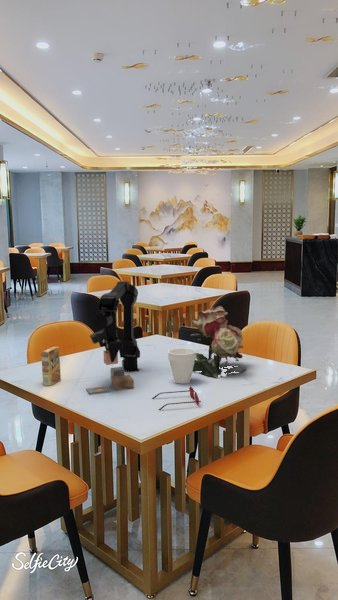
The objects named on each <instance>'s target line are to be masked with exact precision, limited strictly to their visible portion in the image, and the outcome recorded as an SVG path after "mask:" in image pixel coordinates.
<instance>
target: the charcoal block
mask: <svg viewBox="0 0 338 600" xmlns="http://www.w3.org/2000/svg"><path fill="white" fill-rule="evenodd" d="M125 372H126V371H125V370H124V369H123V368H122V366H116V367H110V377H111V376H122V375H125V374H126V373H125Z"/></svg>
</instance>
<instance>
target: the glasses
mask: <svg viewBox="0 0 338 600" xmlns="http://www.w3.org/2000/svg"><path fill="white" fill-rule="evenodd" d="M194 389H195V388H194V387H192V385H190V386H189V389H188V390H179V391H178V390H177V391H166V392H160V393H157V394H155V395H154V396H153V397H152V398H151V400H154V399H155V398H157V397H158V396H159V395H161V394H173V393H186V392H187V393H188V392H189V397H190V396H191V397H190V398H192V400H195V401H184V402H183V401H182V402H174V403H173V402H172V403H165V404H164V405H163V406H161V407H160V408H158V410H160V411H161V410H162V409H163V408H165V407H166V406H168V405H178V404H179V405H180V404H190V403H191V404H192V403H195V404H197V405H196V406H199V405H200V403H201V402H202V401H201V400H199V396H198V393H197V391H195V390H194Z"/></svg>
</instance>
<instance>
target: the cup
mask: <svg viewBox="0 0 338 600" xmlns="http://www.w3.org/2000/svg"><path fill="white" fill-rule="evenodd" d="M196 353H197V351H196V350H195V349H193V348H189V347H177V348H176V347H175V348H172V349H169V350H167V358H168V361H169V366H170V369H171V373H172V378H173V381H175V382H176V383H175V382H174V383H175V384H177V383H187V384H189V383H191V379H192V375H193V372H192V371H193V366H194V362H195V360H197V359H196ZM188 382H189V383H188Z"/></svg>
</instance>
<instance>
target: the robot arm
mask: <svg viewBox="0 0 338 600" xmlns="http://www.w3.org/2000/svg"><path fill="white" fill-rule="evenodd" d="M138 295H139V291H138V289H137V287H136V286H135V285H132V284H130V282H129V281H127V280H126V281H121V280H119V281H117V282H116V285H115V286H114V287H113V288H112V289H111V291H110V292H107V293H104V294H102V295H101V296H100V298H99V301H98V305H97V308H96V309H97V310H96V312H97V313H98V315H97V316H96V317H95V318H94V320H93V323H94V327H96V328H97V329H99V331H96V332H94V333H91V334H90V335H89V338H90V340H91V343H92V344H93V345H96V344H98V343H99V342H100V344H101V345H102V346H104V349H105V351H107V350H109V354H110V359H111V362H114V360H115V358H116V356H117V353H118V354H119V357H120V359H121V358H122V360H121V367H122V368H123V369H124V371H125V372H126V373H127V372H134V371H135V372H136V371H139V370H140V369H139V368H138V359H139V358H141V351H140V347H139V346H138V342H137V340H136V338H135V336H134V305H135V304H136V302H137V301H138ZM120 303H121V304H122V306H123V307H122V309H123V337H122V339H121V340H120V339H119V336H118V330H119V327H118V325H117V318H118V317H117V313H118V309H119V306H120Z"/></svg>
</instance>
